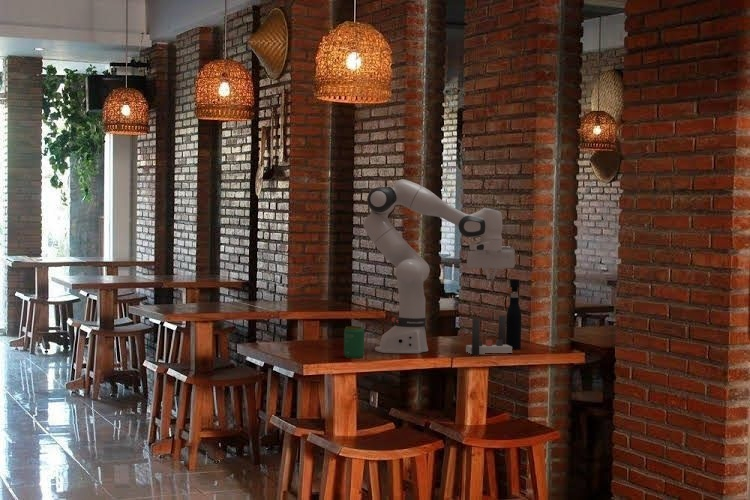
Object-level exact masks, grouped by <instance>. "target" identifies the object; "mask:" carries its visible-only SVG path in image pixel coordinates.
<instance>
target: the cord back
mask: <svg viewBox="0 0 750 500" xmlns="http://www.w3.org/2000/svg"><path fill="white" fill-rule="evenodd" d="M506 318H507V315H504V314H503V315H502V314H500V315H498V339H497V340H503V345H506Z"/></svg>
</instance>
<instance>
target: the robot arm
mask: <svg viewBox="0 0 750 500" xmlns="http://www.w3.org/2000/svg"><path fill="white" fill-rule="evenodd" d="M366 203H367V205H368V207H369V209H370V213H369V214H368V215H367V216H366V218H365V219H364V221H363V224H362V225H363V229H364V230H365V232H366V234H367V236H368V237H369V239H370V241H371V242H372V243H373V244H374V246H375V247H376V249H378V251H380V253H381V254H382V256H383V257H384V258H385V259H386V260H387V261H388V262H390V263H391V264H392V265H393V266H394V267H395V268H396V269H395V278H396V283H397V284H396V285H397V290H398V298H399V303H398V305H399V307H398V308H399V310H398V313H399V314H398V316H397V317H395V316H394V317H392V318H391V322H392V323H394V324H393V325H394V326H392V327H391V328H390V329H389V330H387V331H386V332H385V333H383V334H382V335H381V339H380V343H379V346H375V348H374V350H375V351H376V352H379V353H383V354H421V353H426V352H428V351H429V348H428V343H427V334H426V332H427V331H426V330H427V317H426V302H427V301H426V296H425V290H424V289H425V288H424V283H423V282H425V281H426V280H427V279H428V277H429V276H430V271H431V269H430V266H429V263H428V262H427V261H426V260H425V259H424V258H422V256H421V255H420V254H419V253H418V252H417V251H416V250H415V249H414V248H413V247H411V245H410V244H409V243H408V242H407V241H406V240H405V239H404V237H403V236H402V235H401V234H400V233H399V231H398V230H397V229H396V227H395V226H394V225H393V224H392V223H391V221H390V220H389V218H390V216H392V213H393V212H394V211H395V208H396V206H403V207H405V208H407V209H409V210H410V211H413V212H415V213H417V214H420V215H423V216H429V217H437V218H441V219H442V220H445V221H447V222H449V223H452V224H454V225H455V226H457V227H458V230H459V232H460V234H461V235H462V236H463V237H466V238H467V239H468V238H472V239H477V238H480V241H479V242H476V243H472V244H470V245H469V251H468V253H467V259H466V267H467V268H469V269H483V271H484V273H485V275H486V280H495V276H496V274H497V272H498V269H514V268H515V266H516V265H515V264H516V261H515V256H516V255H515V254H516V250H515V248H514V247H512V246H510V245H509V246H506V245H503V237H502V236H503V235H502V231H503V214H502V211H501V210H500V209H498V208H495V207H494V208H493V207H490V206H489V207H488V206H485V207H483V208H481V209H480V210H478V211H475V212H473V213H466V212H463V211H461V210H460V209H457V208H455V207H453V206H451V205H449V204H448V203H447V202H445V201H444V200H443V199H441V198H440V197H439V196H437V195H436V194H435V193H433V192H432V191H431V190H429V189H428V188H427V187H424V186H422V185H421V184H418V183H416V182H413V181H410V180H408V179H399V180H396V182H394V184H393V185H392V187H391V186H378V187H374V188H373V189H371V190H370V191H369V193H368V194H367V198H366ZM490 269H492V271H493V272H492V274H490V273H489V271H490Z"/></svg>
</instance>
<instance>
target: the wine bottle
mask: <svg viewBox="0 0 750 500" xmlns="http://www.w3.org/2000/svg"><path fill="white" fill-rule="evenodd" d="M509 282H510V283H509V287H510V288H511V293H510V297H509V306H508V308H507V312H506V336H505V345H509V346H512V349H519V350H521V347H522V341H521V339H522V310H521V308H520V304H519V303H520V301H519V300H520V299H519V293H518V291H519V290H518V288H520V279H512V278H511V279H510V281H509Z"/></svg>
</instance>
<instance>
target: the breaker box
mask: <svg viewBox="0 0 750 500" xmlns="http://www.w3.org/2000/svg"><path fill="white" fill-rule="evenodd" d="M467 352H468V353H467ZM465 353H467V354H469V353H470V354H469V355H471V354H472V344H466V345H465ZM485 353H512V354H513V350H512V346H509V345H506V344H505V345H503V346H496V344H492V346H486V344H482V346H479V355H486V354H485Z"/></svg>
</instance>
